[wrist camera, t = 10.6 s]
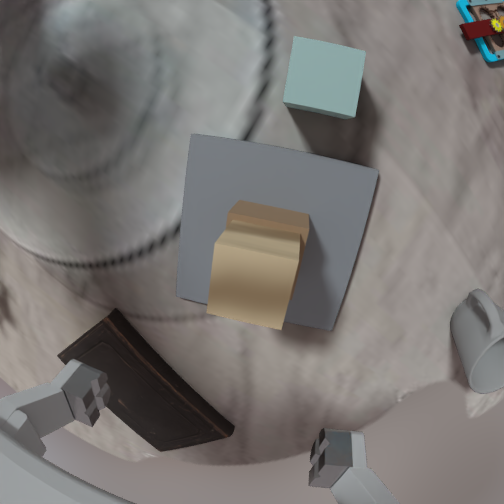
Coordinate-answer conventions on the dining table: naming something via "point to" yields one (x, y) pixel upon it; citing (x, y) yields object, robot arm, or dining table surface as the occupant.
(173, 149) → the dining table surface
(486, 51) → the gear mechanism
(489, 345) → the cup
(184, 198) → the foundation
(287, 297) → the oak cube
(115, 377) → the hardcover book
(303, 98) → the teal cube
